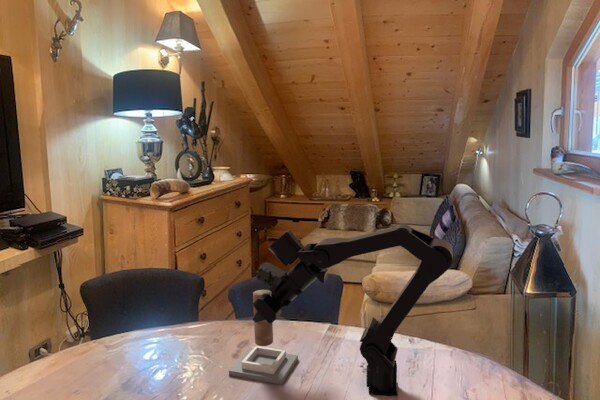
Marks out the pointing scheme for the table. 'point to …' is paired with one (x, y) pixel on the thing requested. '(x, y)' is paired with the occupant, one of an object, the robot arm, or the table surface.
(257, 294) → the walnut post
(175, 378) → the table surface
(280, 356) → the grey framed base plate
